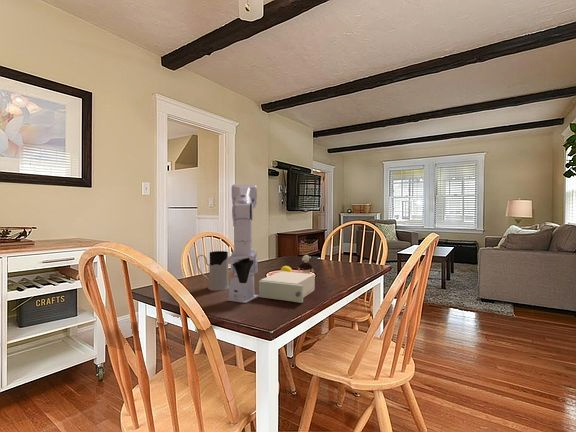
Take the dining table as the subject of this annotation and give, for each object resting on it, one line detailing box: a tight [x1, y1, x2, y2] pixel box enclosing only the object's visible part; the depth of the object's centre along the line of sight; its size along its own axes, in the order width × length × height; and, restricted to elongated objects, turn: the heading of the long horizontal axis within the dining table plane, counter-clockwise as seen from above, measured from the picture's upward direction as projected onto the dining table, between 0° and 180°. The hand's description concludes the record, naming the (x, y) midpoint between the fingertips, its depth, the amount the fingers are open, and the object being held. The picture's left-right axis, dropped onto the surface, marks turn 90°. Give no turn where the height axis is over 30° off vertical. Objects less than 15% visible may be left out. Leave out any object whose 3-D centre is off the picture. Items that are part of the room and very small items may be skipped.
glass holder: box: [196, 250, 229, 291], centre depth 134 cm, size 9×14×15 cm, turn 81°
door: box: [258, 280, 304, 304], centre depth 115 cm, size 2×17×6 cm, turn 65°
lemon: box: [280, 265, 293, 272], centre depth 155 cm, size 7×5×5 cm
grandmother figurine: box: [297, 254, 315, 274], centre depth 141 cm, size 8×4×13 cm, turn 74°
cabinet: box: [259, 270, 316, 299], centre depth 125 cm, size 18×15×6 cm
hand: (243, 282), depth 103 cm, fingers closed
